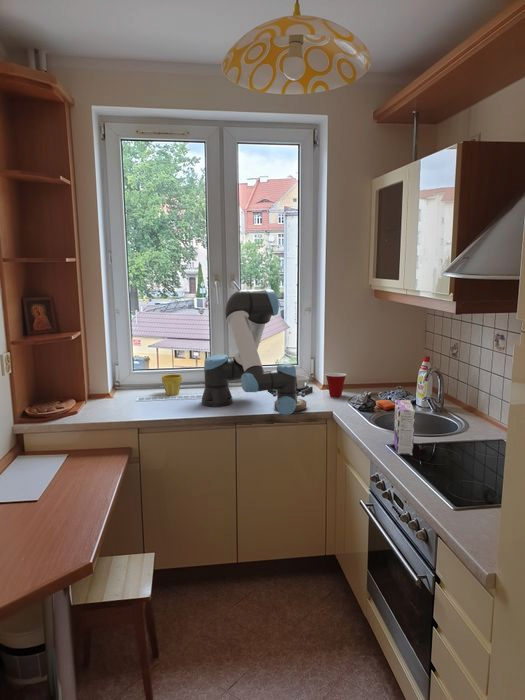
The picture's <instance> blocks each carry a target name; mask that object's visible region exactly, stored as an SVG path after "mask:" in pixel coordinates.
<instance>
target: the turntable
mask: <svg viewBox="0 0 525 700" xmlns="http://www.w3.org/2000/svg"><path fill="white" fill-rule="evenodd" d="M297 401H300V402H302V403H299V404H296V408H295V410H294V411H297V410H301V411H303V410H304V409H306V408H307V401H306V400H305V399H302V398H297ZM274 408H275V409H277V399H276V400H275V401H274ZM302 409H303V410H302Z"/></svg>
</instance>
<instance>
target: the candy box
mask: <svg viewBox="0 0 525 700" xmlns="http://www.w3.org/2000/svg"><path fill="white" fill-rule="evenodd" d="M415 417H416V410H415V408H414V405H413V404H412V400H407V399H405V400H404V399H396V400H394V428H393V429H394V431H393V443H394V447H395V448H394V449H395V452H396V455H404V456H405V455H406V456H413V455H414V439H415V438H414V436H415Z"/></svg>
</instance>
